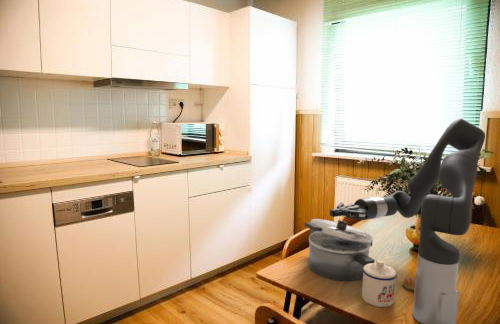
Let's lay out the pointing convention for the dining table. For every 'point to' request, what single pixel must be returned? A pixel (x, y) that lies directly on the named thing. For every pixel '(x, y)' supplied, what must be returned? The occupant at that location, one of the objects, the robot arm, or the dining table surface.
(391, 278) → the teacup with lid
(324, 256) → the cooker pot
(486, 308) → the dining table surface
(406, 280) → the pastry
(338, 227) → the cooker lid
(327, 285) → the dining table surface
